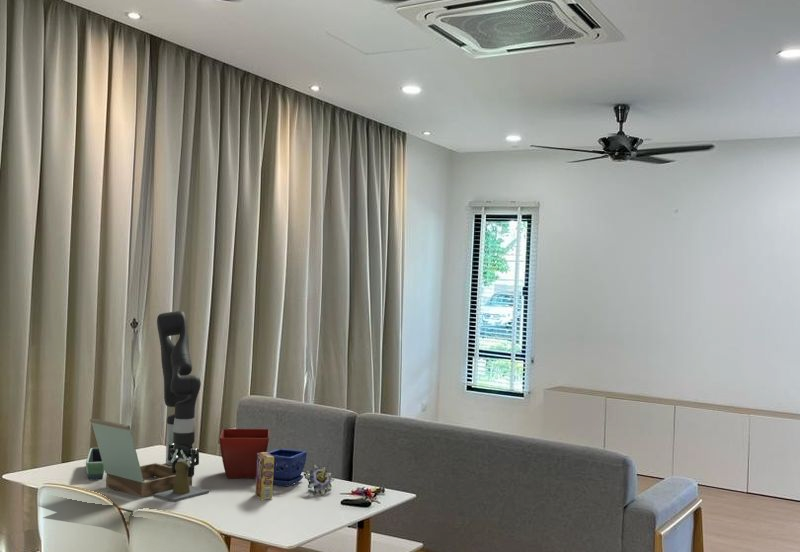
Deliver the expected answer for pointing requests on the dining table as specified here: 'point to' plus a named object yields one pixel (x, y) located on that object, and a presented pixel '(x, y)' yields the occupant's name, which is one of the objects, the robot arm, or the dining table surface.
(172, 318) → the robot arm
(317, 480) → the passion flower
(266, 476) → the candy box
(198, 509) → the dining table surface
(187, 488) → the cork
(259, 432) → the plant pot
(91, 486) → the dining table surface
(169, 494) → the mat
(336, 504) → the dining table surface
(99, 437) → the lid
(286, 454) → the flower pot
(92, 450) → the planter
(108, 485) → the cold frame
